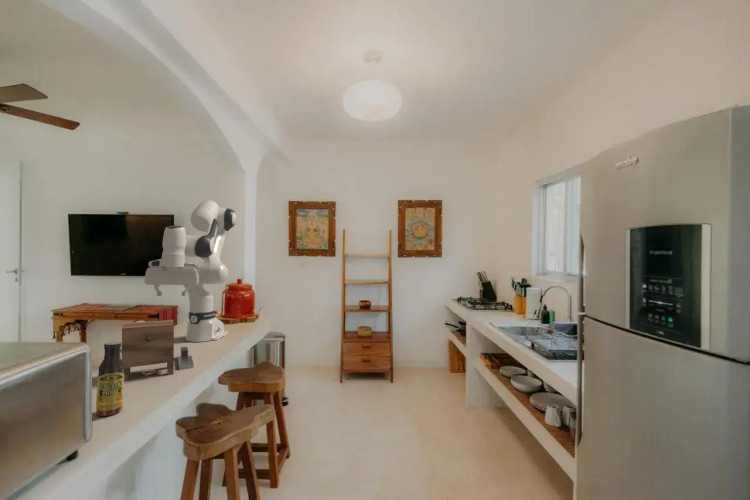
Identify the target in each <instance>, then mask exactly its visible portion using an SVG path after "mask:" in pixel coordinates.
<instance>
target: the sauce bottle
mask: <svg viewBox="0 0 750 500" xmlns="http://www.w3.org/2000/svg"><path fill="white" fill-rule="evenodd" d="M103 349H104V357H103V360H102V361H101V363H100V364H99V366H98V375H97V383H96V384H97V385H96V402H95V403H96V404H95V409H96V410H95V411H96V412H95V414H96V416H99V417H108V416H110V417H111V416H113V415H116V414H118V413H120V412H121V411H122V410H123V405H124V389H125V386H124V385H125V381H124V363H123V361H122V357H121V349H122V341H118V340H117V341H116V340H115V341H107V342H105V343H104V344H103Z"/></svg>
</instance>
